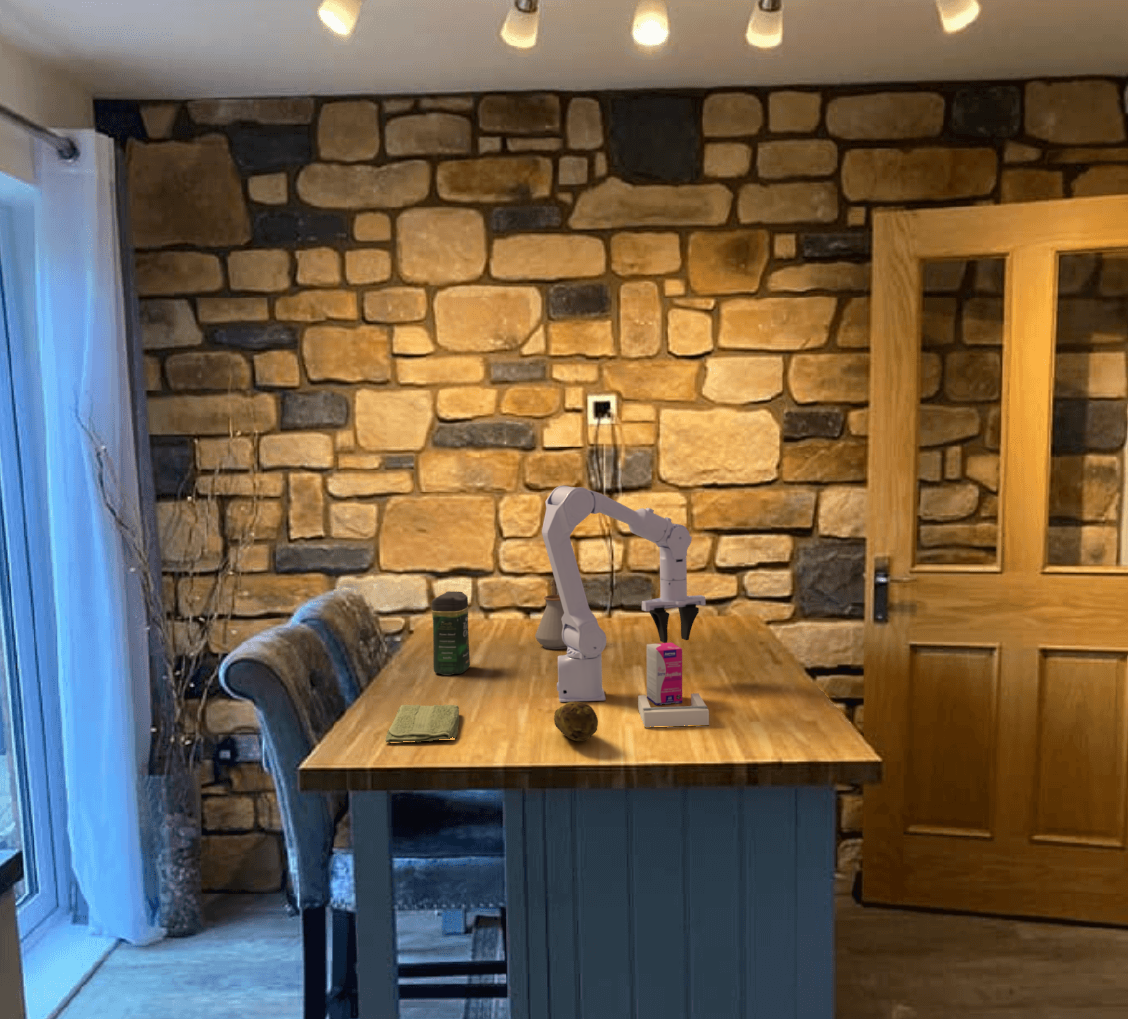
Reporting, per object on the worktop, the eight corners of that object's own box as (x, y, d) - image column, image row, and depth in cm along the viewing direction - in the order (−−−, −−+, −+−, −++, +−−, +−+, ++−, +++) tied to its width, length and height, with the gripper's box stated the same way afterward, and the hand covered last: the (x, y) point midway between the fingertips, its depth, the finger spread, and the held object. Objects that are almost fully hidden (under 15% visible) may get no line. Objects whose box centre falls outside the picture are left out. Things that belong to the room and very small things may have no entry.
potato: (600, 729, 173) (599, 687, 173) (597, 753, 161) (596, 708, 160) (555, 729, 174) (554, 687, 173) (549, 753, 161) (548, 708, 161)
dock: (644, 728, 174) (644, 711, 173) (638, 710, 185) (638, 694, 185) (709, 725, 174) (708, 708, 174) (698, 708, 185) (698, 692, 185)
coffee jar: (463, 676, 214) (460, 596, 213) (430, 675, 215) (426, 596, 214) (474, 665, 224) (471, 589, 222) (442, 665, 225) (439, 589, 223)
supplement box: (656, 706, 187) (655, 650, 186) (646, 698, 193) (645, 643, 192) (683, 703, 189) (682, 647, 188) (672, 695, 194) (671, 641, 193)
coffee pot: (581, 650, 237) (579, 591, 235) (535, 651, 236) (534, 593, 235) (576, 632, 258) (574, 578, 257) (534, 633, 257) (532, 579, 256)
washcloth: (383, 748, 168) (382, 730, 167) (397, 718, 185) (397, 702, 185) (456, 745, 168) (456, 728, 168) (464, 715, 186) (463, 700, 185)
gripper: (651, 584, 195) (652, 647, 197) (712, 578, 201) (713, 640, 202) (636, 579, 202) (638, 641, 203) (695, 574, 207) (696, 634, 208)
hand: (674, 640), depth 203 cm, fingers open, 5 cm apart
